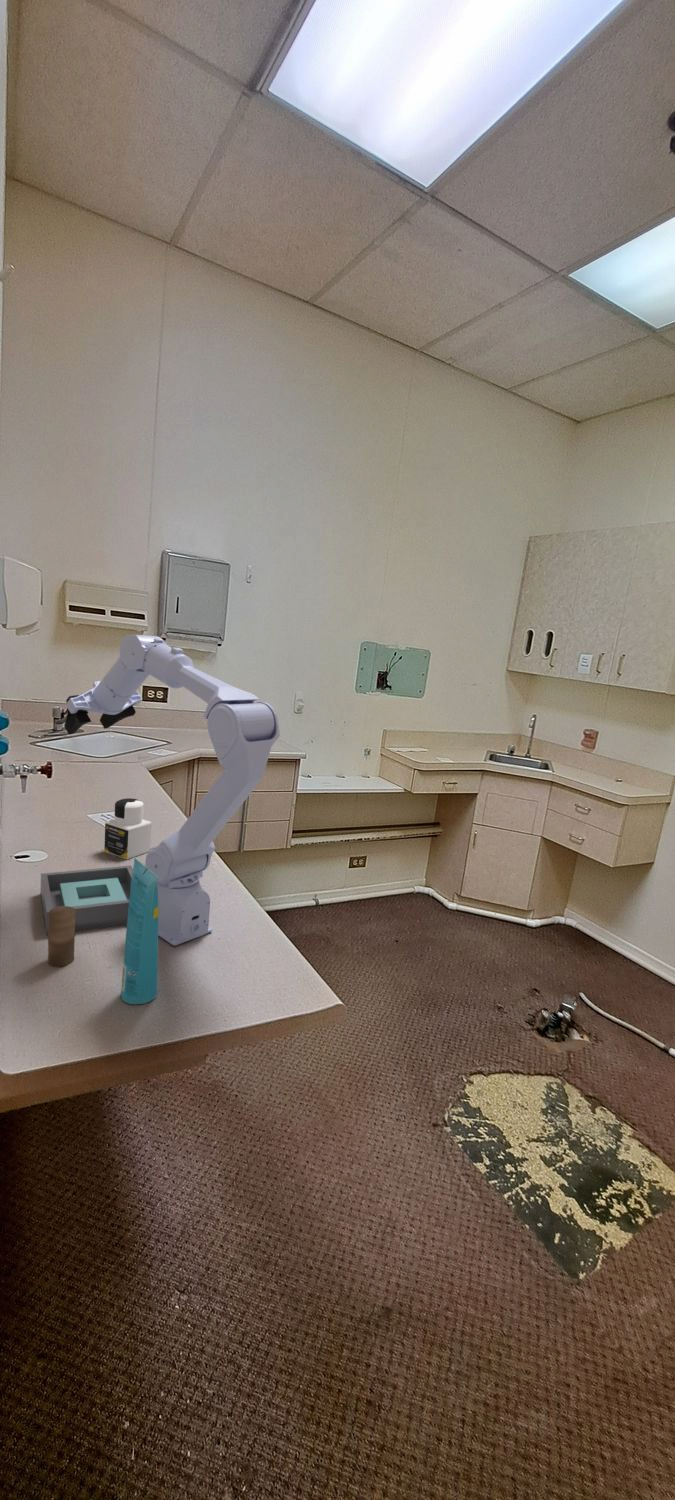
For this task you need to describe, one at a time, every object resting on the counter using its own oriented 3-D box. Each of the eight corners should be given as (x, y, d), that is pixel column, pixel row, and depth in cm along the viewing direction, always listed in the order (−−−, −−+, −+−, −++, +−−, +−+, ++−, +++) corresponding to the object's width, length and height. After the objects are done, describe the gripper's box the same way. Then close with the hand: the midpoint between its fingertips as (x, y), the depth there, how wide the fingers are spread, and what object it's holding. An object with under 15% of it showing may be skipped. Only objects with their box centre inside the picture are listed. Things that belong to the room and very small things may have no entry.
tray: (147, 921, 106) (148, 900, 105) (46, 935, 98) (46, 912, 97) (130, 884, 119) (131, 865, 118) (40, 893, 111) (40, 873, 110)
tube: (167, 1001, 84) (175, 872, 81) (136, 1014, 81) (142, 881, 77) (141, 977, 89) (147, 855, 86) (109, 988, 86) (114, 862, 82)
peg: (78, 961, 91) (79, 912, 90) (54, 969, 89) (55, 919, 87) (66, 951, 94) (68, 903, 92) (43, 959, 91) (44, 910, 89)
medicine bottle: (103, 851, 134) (105, 800, 131) (128, 843, 140) (130, 794, 138) (126, 860, 131) (128, 807, 128) (150, 851, 137) (153, 801, 135)
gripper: (141, 664, 113) (108, 705, 121) (73, 668, 101) (40, 714, 108) (159, 694, 112) (125, 734, 119) (92, 702, 100) (58, 746, 107)
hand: (86, 727), depth 114 cm, fingers open, 7 cm apart
